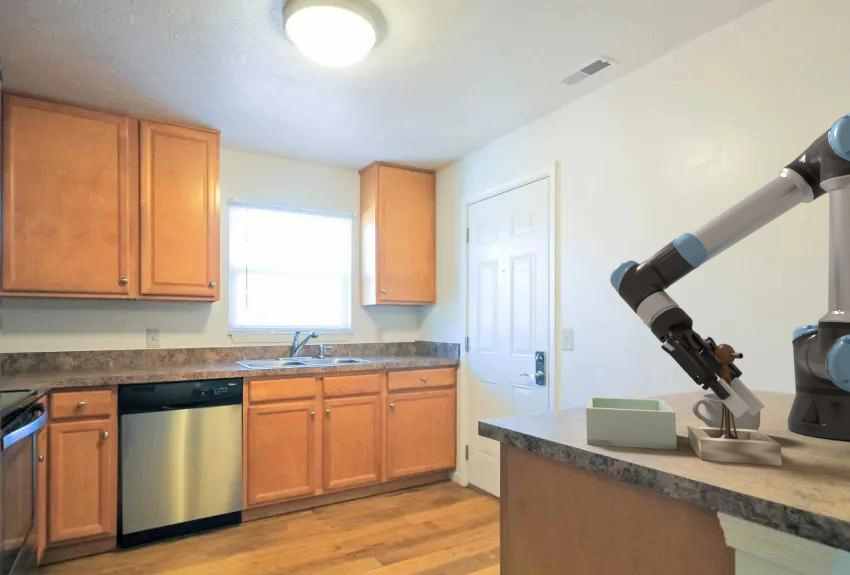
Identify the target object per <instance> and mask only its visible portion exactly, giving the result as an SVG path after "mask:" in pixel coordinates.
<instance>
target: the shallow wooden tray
mask: <svg viewBox="0 0 850 575" xmlns="http://www.w3.org/2000/svg"><path fill="white" fill-rule="evenodd" d="M730 430H731V434H732V435H734V436H735V432H734V429H732V428H730ZM736 432H737V436H738V439H722V438H718V437H719V433H720V428H714V427H708V426H697V425H696V426H695V425H694V426H693V425H688V426H687V435H688V436H687V440H688V445H689V446H690V448H691V449H692V451H693V452H694V453H695V454H696V455H697V457H698V458H699V459H700V460H701V461H711V462H712V461H713V462H725V463H739V464H753V465H764V466H765V465H766V466H780V467H781V466H783V462H782V461H783V459H782V445H781V443H780V442H777V440H774V439H773V438H771V437H770V436H768V435H766V434H765V433H764V432H762V431H761V430H759V429H758V430H750V429H736ZM725 433H726V431H725V428H723V429H722V435H723V434H725ZM735 437H736V436H735Z"/></svg>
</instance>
